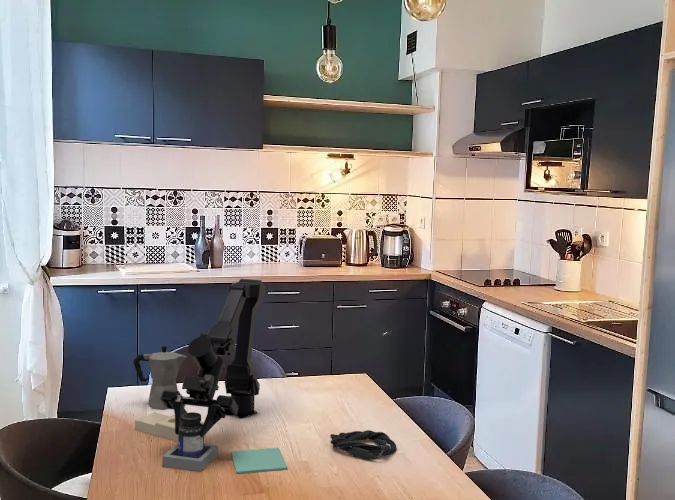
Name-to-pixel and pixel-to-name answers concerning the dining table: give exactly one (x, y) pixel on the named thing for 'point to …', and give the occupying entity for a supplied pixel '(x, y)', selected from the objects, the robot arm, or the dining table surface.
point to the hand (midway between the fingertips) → (188, 435)
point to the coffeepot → (160, 373)
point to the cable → (361, 449)
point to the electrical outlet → (158, 425)
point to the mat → (258, 460)
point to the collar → (189, 463)
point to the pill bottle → (190, 436)
